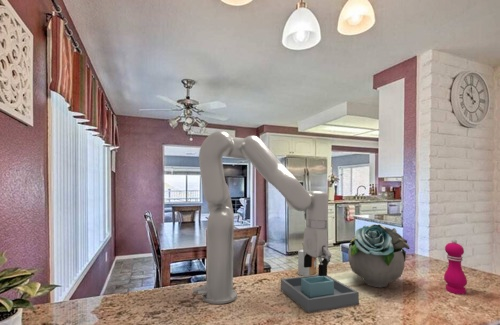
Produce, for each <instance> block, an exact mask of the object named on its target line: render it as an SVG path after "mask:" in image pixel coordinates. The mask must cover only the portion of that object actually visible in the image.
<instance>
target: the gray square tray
mask: <svg viewBox="0 0 500 325" xmlns="http://www.w3.org/2000/svg"><path fill="white" fill-rule="evenodd" d="M317 276H319V275H318V274H313V275H310V276H303V275H301V276H294V277H287V278H280V290H281V291H282V292H283V293H284V294H285V295H287V297H289V298H290V299H291V300H292V301H293V302H294V303H296V304H297V305H298V306H299V307H300V308H302V309H303V310H304V311H306V313H308V314H310V313H317V312H322V311H327V310H334V309H339V308H345V307H346V308H347V307H351V306H355V305H359V304H360V292H359V291H357V290H356V289H354V288H352V287H350V286H348V285H347V284H344V283H343V282H340V281H339V280H337V279H335V278H334V277H332V276H329V275H328V274H327V276H326V277H328V278H329V279H331V280H333V281H334V295H329V296H323V297H316V298H308V297H307V296H306V295H304V294H303V293H302V292H301V278H309V277H317Z"/></svg>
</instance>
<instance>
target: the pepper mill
mask: <svg viewBox="0 0 500 325" xmlns="http://www.w3.org/2000/svg"><path fill="white" fill-rule="evenodd" d="M444 251H445V253H446V259H447V260H448V266H447V269H446V271H445V273H444V277H443V279H444V282H445V283H446V284H445V290H446V291H447V292H449V293H452V294H454V295H455V294H456V295H466V293H467V291H466V290H467V289H466V285H467V284H468V279H467V277H466V275H465V272H464V271H463V268H462V261H464V260H463V255H464V253H465V250H464V247H463V246H462V245H461V244H460V243H458V241H457V239H455V238H452V239H451V240H450V242H449V243H447V244H446V245H445V246H444Z"/></svg>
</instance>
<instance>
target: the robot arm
mask: <svg viewBox="0 0 500 325" xmlns="http://www.w3.org/2000/svg"><path fill="white" fill-rule="evenodd" d="M223 157H225V158H233V159H242V160H248V161H249V162H250V163H251V165H252V166H253V167H254V168H255V169H256V170H257V172H258V173H259V174H260V175H261V176H262V177H263V179H264V180H266V182H267V183H269V184H270V185H272V186H273V187H274V188H275V189H276V190H277V191H278V192H279V193H280V194H281V195H282V196H283V197H284V199H285V202H286V204H287V205H288V207H290V208H291V209H293V210H295V211H298V212H305V211H306V222H305V224H306V225H305V228H304V234H303V241H302V242H301V243H302V244H301V245H302V250H303V252H304V254H303V255H304V256H305V257H304V267H305V268H307V267H312V257H314V258H316V259H318V262H319V264H318V273H317V275H319V276H327V275H328V266H329V263H330V261H331V259H332V254H331V252H330V251H329V237H328V230H327V229H328V208H329V194H328V192H326V191H323V190H306V188H305V187H304V186H303V185H302V184H301V183H300V181H299V180H298V179H297V177H295V175H293V173H291V172H290V170H288V168H287V167H286V166H285V165H284V164H283V163H282V162H281V161H280V160H279V159H278V158H277V156H276V155H274V153H273V152H272V151H271V149H269V147H268V146H267V145H266V144H265V142H264V141H262V139H261V138H260V137H258V136H256V135H247V136H246V137H244V138H243V137H237V136H236V137H235V136H231V134H229V133H228V132H226V131H224V130H216V131H214V132H212V133H211V134H209V135H208V136H207V137H206V138H205V139H204V140H203V142H202V143H201V145H200V148H199V153H198V162H199V170H200V178H201V179H200V180H201V184H202V191H203V192H202V194H203V198H204V200H205V201H206V202H207V206H208V207H207V208H208V212H209V214H208V217H207V220H206V282H204V285H201V286H199V287H198V286H197V287H195V286H194V287H193V288H192V293H193V294H197V295H198V296H201V299H202V300H203V302H206V303H208V304H213V305H223V304H229V303H232V302H233V301H234V300H236V299H237V297H238V293H237V291H236V290H235V289H234V229H235V228H234V226H235V223H234V222H235V216H234V215H235V213H234V209H233V202H232V197H231V191H230V187H229V185H228V184H227V183H226V177H225V171H224V164H223Z"/></svg>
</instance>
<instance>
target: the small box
mask: <svg viewBox="0 0 500 325" xmlns="http://www.w3.org/2000/svg"><path fill="white" fill-rule="evenodd" d="M303 254H304V252H303V249H300V250H298V251H297V258H298V259H297V260H298V261H297V266H298V267H297V269H298V270H297V273H298V275H299V276H310V275H316V273H317V258H314V257H312V267H307V268H305V267H304V257H305V256H304V255H303Z"/></svg>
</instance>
